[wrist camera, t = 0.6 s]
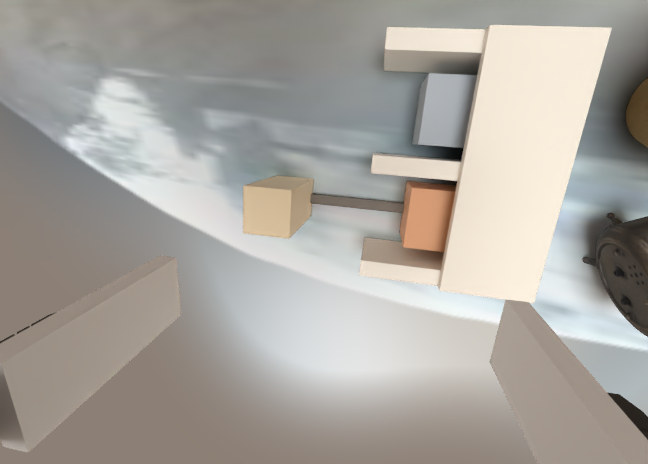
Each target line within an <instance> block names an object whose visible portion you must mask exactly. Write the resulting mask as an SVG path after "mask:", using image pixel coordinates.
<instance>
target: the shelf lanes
mask: <svg viewBox="0 0 648 464" xmlns="http://www.w3.org/2000/svg"><path fill="white" fill-rule="evenodd" d="M611 29H612V28H600V27H558V26H515V25H490V26H489V27H488V28H487V29H486V30H484V29H445V28H405V27H387V33H386V42H385V53H384V71H400V72H423V73H446V74H468V75H477V80H476V85H475V90H474V96H473V101H472V106H471V112H470V117H469V122H468V128H467V133H466V138H465V144H464V149H463V154H462V160H459V159H446V158H434V157H422V156H409V155H397V154H384V153H374V154H373V157H372V166H371V173H374V174H385V175H396V176H408V177H419V178H430V179H441V180H452V181H457V186H456V191H455V197H454V202H453V207H452V213H451V218H450V223H449V229H448V234H447V239H446V245H445V250H444V252H439V251H430V250H422V249H414V248H405V247H403V245H402V242H399V241H390V240H382V239H373V238H365V239H364V245H363V251H362V257H361V264H360V273H359V275H360V276H367V277H375V278H382V279H389V280H397V281H404V282H412V283H419V284H427V285H434V286H438V288H439V290H440V291H446V292H454V293H461V294H468V295H476V296H483V297H490V298H498V299H505V300H506V299H507V300H515V301H523V302H529V303H534V301H535V298H536V294H537V290H538V287H539V283H540V280H541V276H542V273H543V269H544V266H545V262H546V259H547V255H548V252H549V248H550V245H551V241H552V238H553V234H554V230H555V227H556V223H557V220H558V216H559V213H560V209H561V206H562V202H563V199H564V195H565V192H566V188H567V185H568V181H569V177H570V174H571V170H572V167H573V163H574V160H575V156H576V153H577V149H578V146H579V142H580V139H581V135H582V132H583V128H584V125H585V121H586V117H587V114H588V110H589V107H590V103H591V100H592V96H593V93H594V89H595V86H596V82H597V79H598V75H599V72H600V68H601V65H602V61H603V57H604V54H605V50H606V47H607V43H608V40H609V36H610V33H611Z"/></svg>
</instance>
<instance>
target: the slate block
mask: <svg viewBox="0 0 648 464" xmlns="http://www.w3.org/2000/svg"><path fill="white" fill-rule="evenodd" d="M476 80H477V75H458V74H436V73H429V74H428V75H427V77H426V78H425V80H424V81H423V83H422V84H421V87H420V94H419V101H418V108H417V115H416V122H415V128H414V135H413V142H412V144H413V145H427V146H440V147H453V148H464V144H465V138H466V133H467V128H468V122H469V117H470V112H471V106H472V101H473V96H474V90H475V85H476Z"/></svg>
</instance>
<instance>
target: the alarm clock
mask: <svg viewBox="0 0 648 464" xmlns="http://www.w3.org/2000/svg"><path fill="white" fill-rule="evenodd" d="M607 217H608V218H610V219H611V220H612V222H613V224H614V225H613V226H610V227H608V228H606V229H605V230H604V231H603V232H602V233H601V235H600V236H599V238H598V241H597V244H596V259H591V258H584V259H583V262H585V263H587V264H591V265H594V266H596V267H597V269H598V270H599V273H600V276H601V279H602V282H603V284H604V286H605V288H606V290H607V292H608V294H609V296H610V298H611V299H612V301H613V302H614V304H615V305H616V307H617V308H618V310H619V311H620V312H621V313H622V315H623V316H624V317H625V318H626V319H627V320H628V321H629V322H630V323H631V324H632V325H633V326H634V327H635V328H636V329H637V330H639V331H640V332H641V333H643V334H644V335H646V336H648V216H647V217H644V218H640V219H636V220H632V221H628V222H624V223H622V222H621V221H620V220H618V219H617V218H616V217H615V214H613V213H609V214H608V216H607Z"/></svg>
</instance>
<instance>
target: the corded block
mask: <svg viewBox="0 0 648 464" xmlns="http://www.w3.org/2000/svg"><path fill="white" fill-rule="evenodd" d="M313 180H314V179H310V178H299V177H289V176H278V175H277V176H273V177H270V178H267V179H264V180H260V181H257V182H254V183H250V184H247V185H244V186H243V233H247V234H255V235H263V236H272V237H280V238H288V239H289V238H290V237H291V236H292V235H293V234H294V233H295V232H296V231H297V230H298V229H299V228H300V227H301V226H302V225H303V224H304V223H305V222H306V221H307V220H308V219H309V218H310V217H311V212H312V204H322V205H331V206H341V207H350V208H360V209H369V210H379V211H388V212H398V213H402V219H401V226H400V236H401V240H402V245H403V247H405V248H414V249H422V250H430V251H439V252H444V250H445V245H446V239H447V234H448V229H449V223H450V218H451V213H452V207H453V202H454V197H455V191H456V186H457V185H446V184H435V183H424V182H413V181H407V184H406V191H405V198H404V203H401V202H391V201H381V200H371V199H361V198H351V197H341V196H331V195H321V194H313Z"/></svg>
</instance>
